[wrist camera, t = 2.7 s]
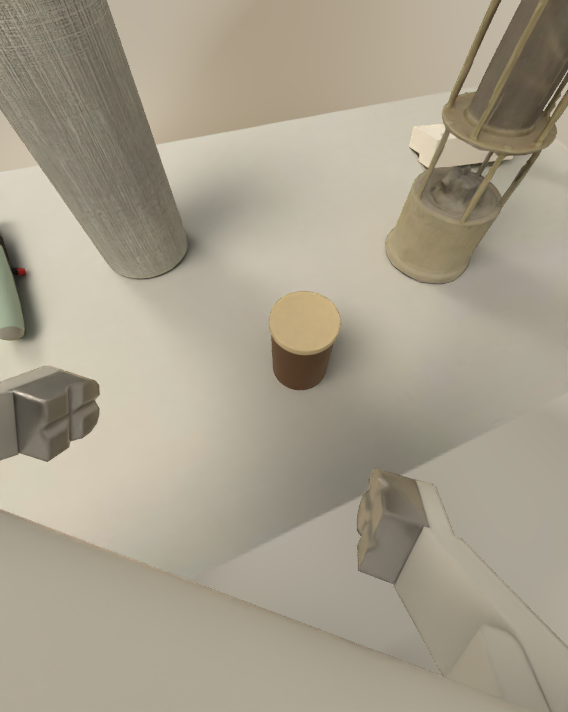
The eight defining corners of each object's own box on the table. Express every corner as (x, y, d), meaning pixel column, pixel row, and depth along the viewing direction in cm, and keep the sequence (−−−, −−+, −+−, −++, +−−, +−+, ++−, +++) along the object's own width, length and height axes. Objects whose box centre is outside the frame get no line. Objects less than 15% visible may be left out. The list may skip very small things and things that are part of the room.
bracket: (483, 144, 51) (505, 83, 45) (512, 158, 46) (541, 92, 41) (407, 153, 50) (421, 92, 44) (429, 169, 45) (448, 102, 40)
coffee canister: (334, 383, 31) (350, 342, 24) (279, 397, 31) (278, 358, 23) (317, 336, 34) (328, 284, 26) (266, 347, 33) (262, 298, 25)
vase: (205, 242, 40) (87, -179, 16) (145, 294, 36) (-130, -153, 12) (150, 210, 42) (-25, -195, 18) (89, 255, 39) (-232, -178, 14)
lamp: (427, 211, 42) (674, -303, 16) (504, 275, 38) (1053, -314, 11) (367, 241, 40) (541, -311, 13) (442, 314, 35) (960, -329, 8)
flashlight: (44, 322, 32) (5, 208, 40) (-14, 328, 29) (-44, 204, 37) (47, 343, 35) (9, 231, 42) (-7, 350, 32) (-37, 229, 39)
